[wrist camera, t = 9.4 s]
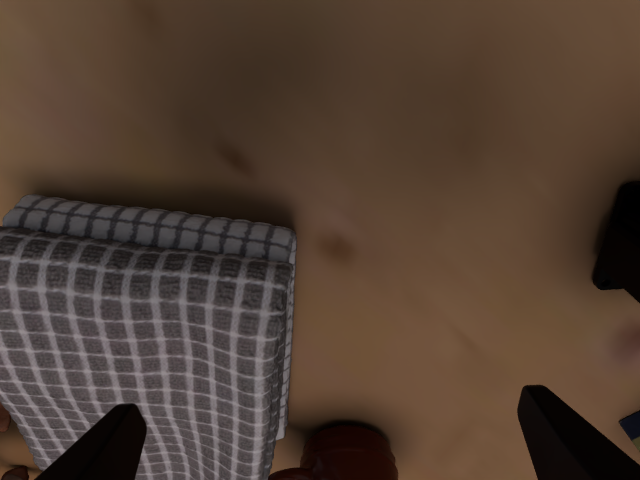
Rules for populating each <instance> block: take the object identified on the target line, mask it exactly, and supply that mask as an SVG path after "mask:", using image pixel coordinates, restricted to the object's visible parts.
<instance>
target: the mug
mask: <svg viewBox="0 0 640 480" xmlns="http://www.w3.org/2000/svg"><path fill="white" fill-rule="evenodd" d="M268 480H398V470H397V468H396V465H395V457H394V456H393V454H392V452H391V449H390V446H389V444H388V442H387V441H386V440H385V439H384V438H383V437H382V436H381V435H379V434H378V433H376V432H374V431H372V430H370V429H368V428H365V427H362V426H357V425H337V426H332V427H329V428H326V429H323V430H321V431H320V432H318V433H316V434H315V435H314V436H312V437H311V438H310V439H309V440H308V442H307V443H306V445H305V447H304V450H303V455H302V457H301V460H300V468H289V469H285V470H280V471H277V472H274V473H272V474H271V475H269V476H268Z"/></svg>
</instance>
